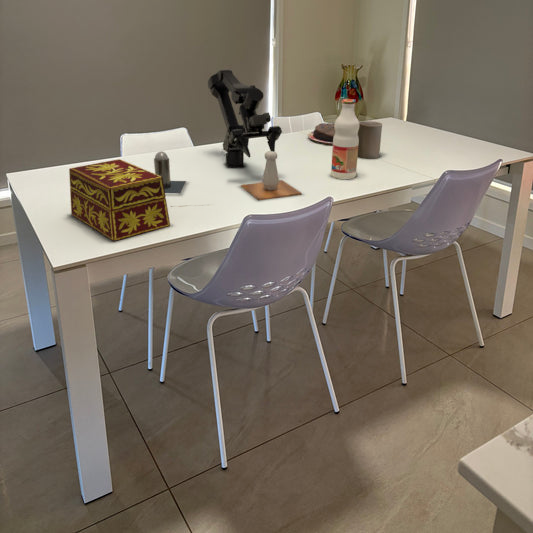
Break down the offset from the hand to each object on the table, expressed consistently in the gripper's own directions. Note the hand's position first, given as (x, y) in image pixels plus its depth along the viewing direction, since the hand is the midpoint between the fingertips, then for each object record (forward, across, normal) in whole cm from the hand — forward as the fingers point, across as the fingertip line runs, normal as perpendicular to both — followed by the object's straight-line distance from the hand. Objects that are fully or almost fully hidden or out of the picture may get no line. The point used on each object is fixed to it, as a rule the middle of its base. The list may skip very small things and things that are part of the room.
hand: (261, 155), depth 208 cm
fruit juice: (+9, +33, +6) cm, 34 cm away
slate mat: (+2, -34, +13) cm, 36 cm away
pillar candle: (-6, +57, +21) cm, 61 cm away
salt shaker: (+13, 0, +2) cm, 13 cm away
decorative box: (+20, -54, -5) cm, 58 cm away
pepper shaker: (+1, -34, +13) cm, 36 cm away
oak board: (+13, 0, +2) cm, 13 cm away
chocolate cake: (-28, +60, +43) cm, 79 cm away
